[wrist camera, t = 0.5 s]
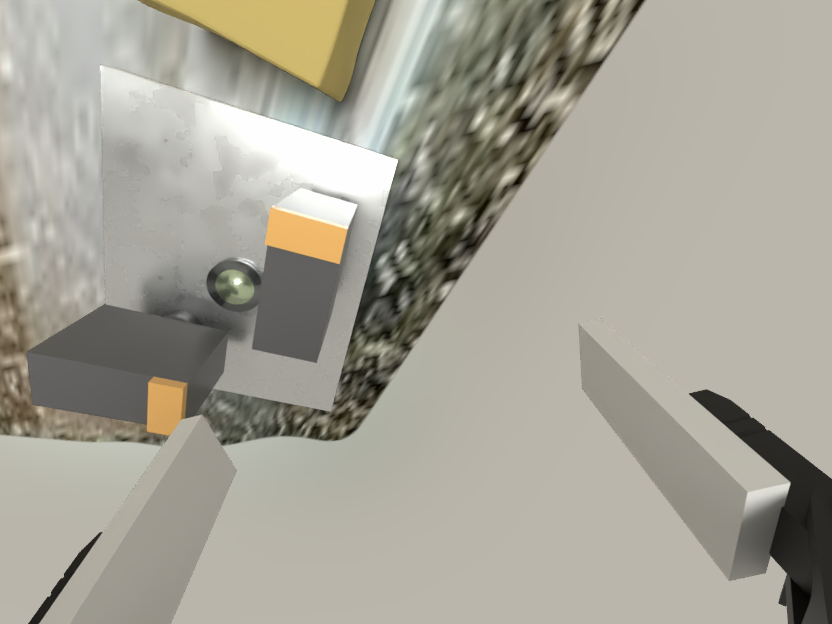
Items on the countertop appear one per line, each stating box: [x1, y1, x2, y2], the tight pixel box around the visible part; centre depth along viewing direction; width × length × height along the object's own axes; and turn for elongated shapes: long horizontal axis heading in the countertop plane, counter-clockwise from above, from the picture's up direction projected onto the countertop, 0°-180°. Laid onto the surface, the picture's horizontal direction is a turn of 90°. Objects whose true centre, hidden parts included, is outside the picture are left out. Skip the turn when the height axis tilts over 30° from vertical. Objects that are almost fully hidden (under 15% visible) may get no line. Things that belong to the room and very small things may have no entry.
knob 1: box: [27, 304, 229, 435], centre depth 29 cm, size 9×4×10 cm, turn 73°
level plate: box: [100, 65, 398, 412], centre depth 32 cm, size 20×24×3 cm
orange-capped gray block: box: [252, 188, 358, 363], centre depth 26 cm, size 9×4×10 cm, turn 163°
